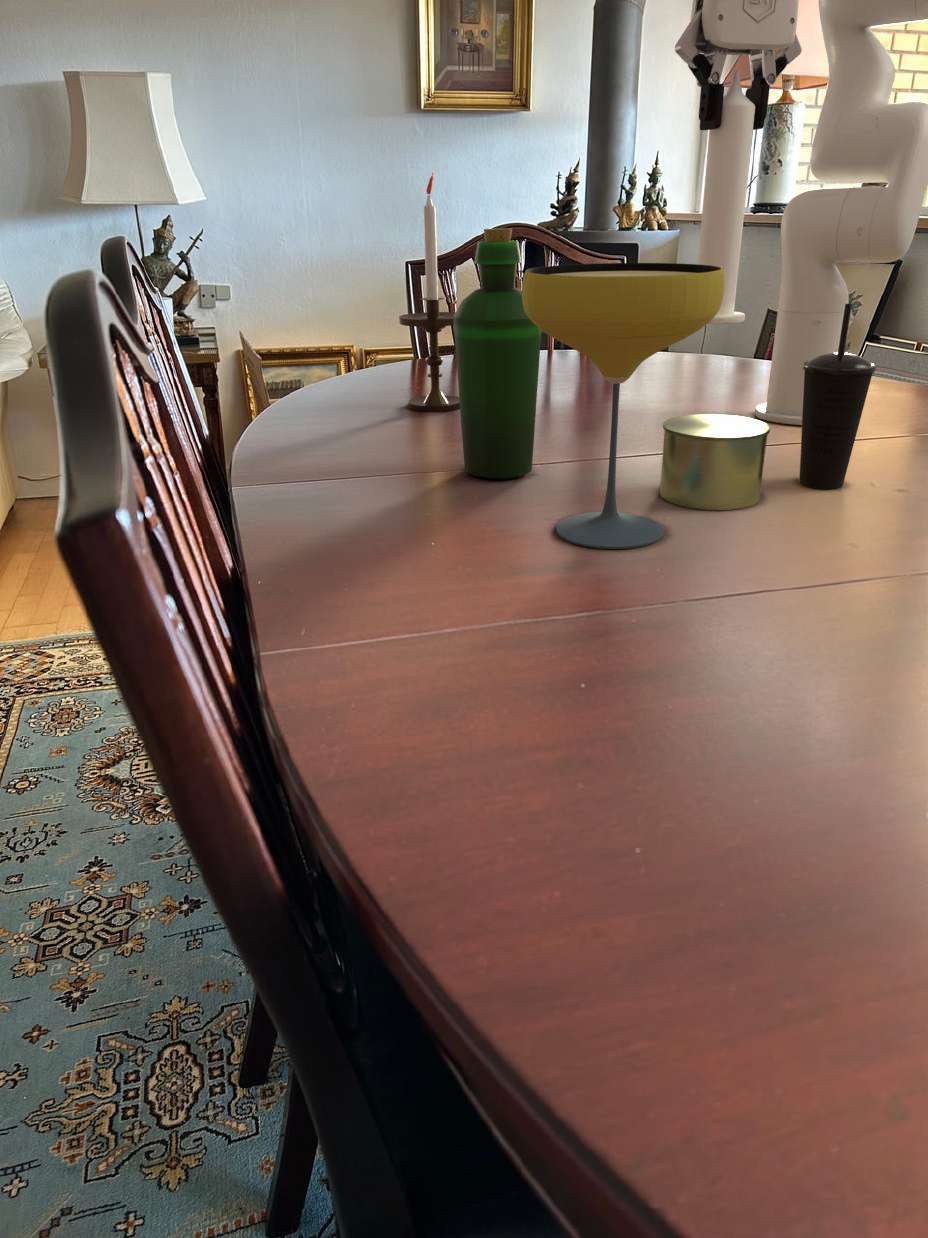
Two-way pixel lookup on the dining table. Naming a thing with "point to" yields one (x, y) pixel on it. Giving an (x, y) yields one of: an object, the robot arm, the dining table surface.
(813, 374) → the drinking cup
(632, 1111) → the dining table surface
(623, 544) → the cocktail glass
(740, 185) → the candle
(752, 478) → the tin
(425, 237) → the candlestick
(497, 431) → the bottle
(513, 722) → the dining table surface
